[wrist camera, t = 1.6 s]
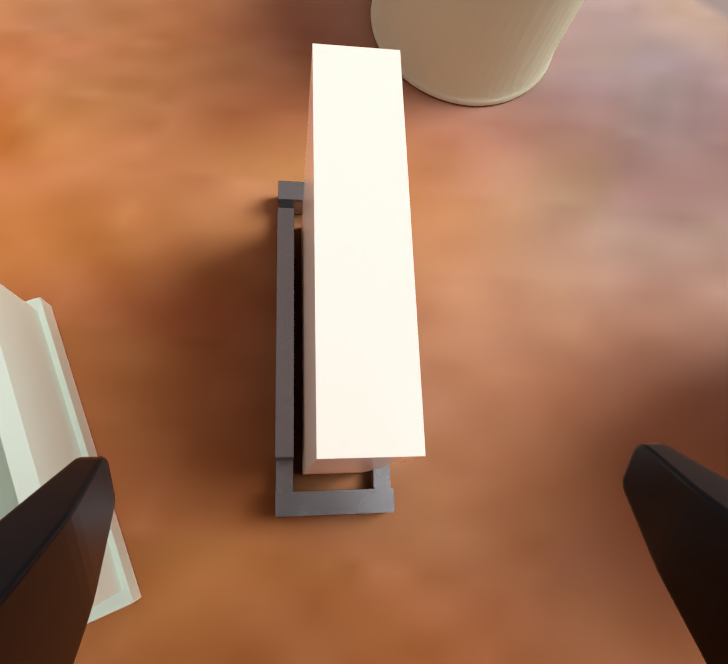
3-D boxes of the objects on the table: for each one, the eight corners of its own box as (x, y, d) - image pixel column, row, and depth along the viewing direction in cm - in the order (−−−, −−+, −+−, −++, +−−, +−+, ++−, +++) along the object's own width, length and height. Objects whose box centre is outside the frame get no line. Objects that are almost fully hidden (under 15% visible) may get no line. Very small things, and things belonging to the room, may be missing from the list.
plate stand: (388, 511, 20) (401, 513, 18) (276, 515, 20) (274, 518, 17) (374, 199, 24) (384, 167, 22) (278, 196, 23) (277, 162, 21)
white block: (361, 472, 21) (425, 456, 11) (302, 474, 20) (316, 458, 11) (353, 229, 23) (400, 50, 14) (301, 227, 23) (312, 43, 14)
